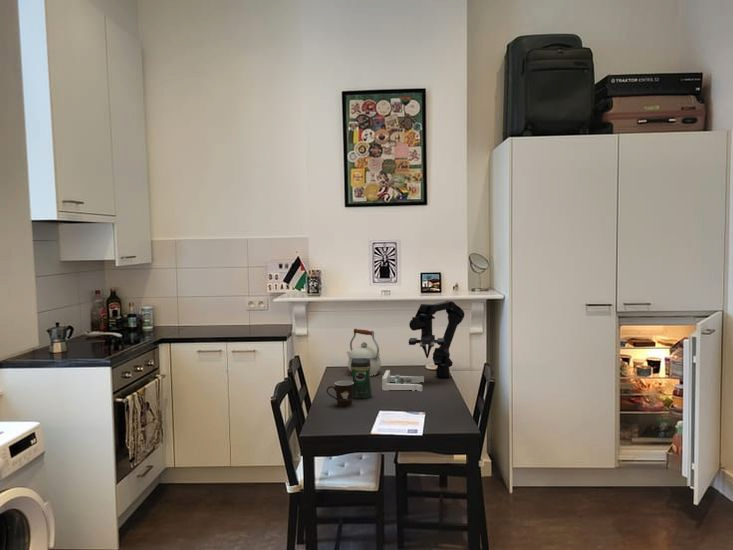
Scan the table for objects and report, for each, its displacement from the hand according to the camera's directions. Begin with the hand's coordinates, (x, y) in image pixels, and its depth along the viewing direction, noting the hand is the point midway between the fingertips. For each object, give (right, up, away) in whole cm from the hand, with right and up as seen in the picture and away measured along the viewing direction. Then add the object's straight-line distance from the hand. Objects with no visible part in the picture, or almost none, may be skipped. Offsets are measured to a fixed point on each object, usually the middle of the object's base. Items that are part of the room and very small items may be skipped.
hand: (427, 357), depth 278 cm
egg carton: (-12, -14, -7) cm, 19 cm away
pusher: (-16, -13, -7) cm, 22 cm away
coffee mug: (-43, -16, -36) cm, 58 cm away
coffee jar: (-34, -15, -24) cm, 44 cm away
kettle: (-34, -12, +21) cm, 42 cm away
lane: (-14, -13, -7) cm, 20 cm away
